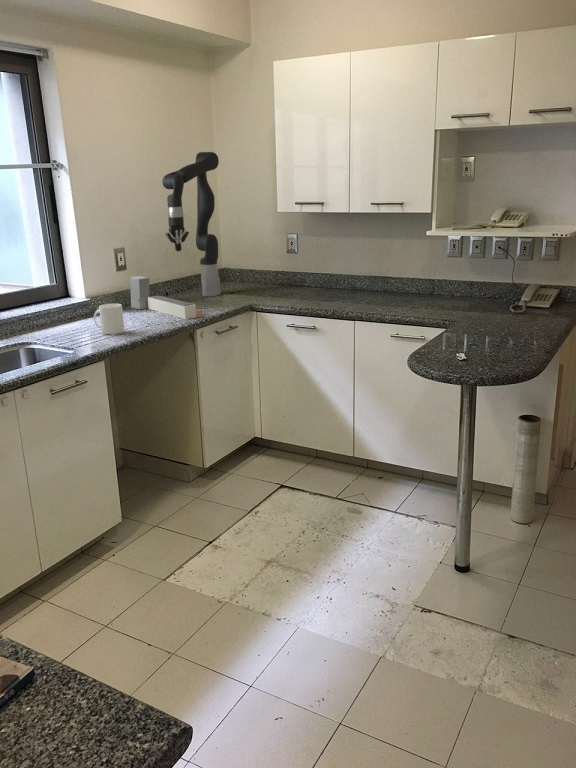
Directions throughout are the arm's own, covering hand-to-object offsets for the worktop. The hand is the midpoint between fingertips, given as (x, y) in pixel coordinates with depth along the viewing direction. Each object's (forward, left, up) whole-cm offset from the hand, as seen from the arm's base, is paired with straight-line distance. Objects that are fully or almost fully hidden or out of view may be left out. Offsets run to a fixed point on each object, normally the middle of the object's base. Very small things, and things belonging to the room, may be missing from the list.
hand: (178, 251), depth 332 cm
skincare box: (+21, -5, -27) cm, 35 cm away
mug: (+57, +36, -27) cm, 73 cm away
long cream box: (+16, +19, -27) cm, 36 cm away
